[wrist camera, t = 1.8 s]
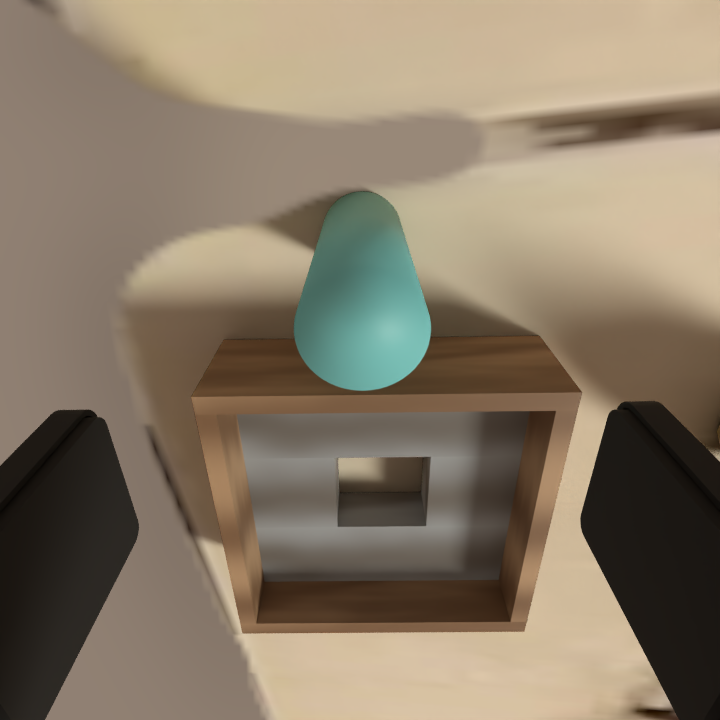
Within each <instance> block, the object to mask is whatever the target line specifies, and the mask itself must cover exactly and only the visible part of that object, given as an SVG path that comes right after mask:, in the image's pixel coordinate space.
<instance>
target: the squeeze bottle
mask: <svg viewBox="0 0 720 720" xmlns="http://www.w3.org/2000/svg"><path fill="white" fill-rule="evenodd" d="M717 434H718V439H719V443H720V425H719V428H718V431H717Z"/></svg>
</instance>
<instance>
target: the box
mask: <svg viewBox="0 0 720 720" xmlns="http://www.w3.org/2000/svg"><path fill="white" fill-rule="evenodd" d="M581 395H582V392H581V390H580V389H579V388H578V386H577V385H576V384H575V382H574V381H573V380H572V378H571V377H570V376H569V374H568V373H567V372H566V370H565V369H564V368H563V366H562V365H561V364H560V362H559V361H558V360H557V358H556V357H555V356H554V354H553V353H552V352H551V350H550V349H549V348H548V346H547V345H546V344H545V342H544V341H543V340H542V338H541V337H540V336H485V337H430V341H429V345H428V348H427V350H426V353H425V355H424V357H423V358H422V360H421V361H420V363H419V364H418V365H417V367H416V368H415V369H414V370H413V371H412V372H411V373H410V374H408V375H407V376H406V377H404V378H403V379H402V380H400V381H398V382H396V383H394V384H392V385H390V386H387V387H384V388H380V389H375V390H367V391H358V390H349V389H344V388H341V387H338V386H335V385H333V384H330V383H328V382H327V381H325V380H323V379H322V378H320V377H319V376H317V375H316V374H315V373H314V372H313V371H312V370H311V369H310V368H309V367H308V366H307V365H306V363H305V362H304V360H303V359H302V357H301V355H300V353H299V351H298V349H297V346H296V342H295V339H253V340H223V342H222V344H221V346H220V347H219V349H218V351H217V353H216V354H215V356H214V358H213V360H212V361H211V363H210V365H209V367H208V368H207V370H206V372H205V373H204V375H203V377H202V379H201V380H200V382H199V384H198V386H197V387H196V389H195V391H194V393H193V394H192V396H191V399H192V404H193V408H194V413H195V418H196V422H197V427H198V431H199V436H200V440H201V445H202V450H203V454H204V459H205V463H206V468H207V473H208V477H209V482H210V486H211V491H212V495H213V500H214V505H215V509H216V514H217V518H218V523H219V528H220V532H221V537H222V541H223V546H224V551H225V555H226V560H227V564H228V569H229V573H230V578H231V583H232V587H233V592H234V596H235V601H236V606H237V610H238V615H239V619H240V624H241V628H242V633H374V632H524V630H525V626H526V622H527V618H528V614H529V610H530V606H531V602H532V597H533V593H534V589H535V585H536V581H537V577H538V573H539V568H540V564H541V560H542V556H543V552H544V548H545V544H546V539H547V535H548V531H549V527H550V523H551V519H552V515H553V510H554V506H555V502H556V498H557V494H558V490H559V486H560V482H561V477H562V473H563V469H564V465H565V461H566V457H567V453H568V448H569V444H570V440H571V436H572V432H573V428H574V424H575V419H576V415H577V411H578V407H579V403H580V399H581ZM367 457H423V467H422V484H421V492H375V493H339V472H338V458H367Z"/></svg>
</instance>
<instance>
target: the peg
mask: <svg viewBox="0 0 720 720" xmlns="http://www.w3.org/2000/svg"><path fill="white" fill-rule="evenodd" d="M430 335H431V321H430V315H429V312H428V309H427V306H426V302H425V299H424V296H423V293H422V290H421V286H420V283H419V280H418V277H417V274H416V270H415V267H414V264H413V261H412V258H411V254H410V251H409V248H408V245H407V242H406V238H405V235H404V232H403V229H402V226H401V222H400V219H399V216H398V214H397V212H396V210H395V209H394V207H393V206H392V205H391V204H390V203H389V202H388V201H387V200H386V199H385V198H383V197H382V196H380V195H378V194H375V193H372V192H365V191H359V192H353V193H350V194H347V195H345V196H343V197H341V198H340V199H338V200H337V201H336V202H335V203H334V204H333V205H332V206H331V208H330V209H329V211H328V212H327V215H326V217H325V220H324V223H323V226H322V230H321V233H320V236H319V239H318V243H317V246H316V249H315V252H314V256H313V259H312V262H311V266H310V269H309V272H308V275H307V279H306V282H305V285H304V288H303V292H302V295H301V298H300V301H299V305H298V308H297V311H296V315H295V320H294V337H295V342H296V346H297V349H298V351H299V353H300V355H301V357H302V359H303V360H304V362H305V363H306V365H307V366H308V367H309V368H310V369H311V370H312V371H313V372H314V373H315V374H316V375H317V376H319V377H320V378H322V379H323V380H325V381H327V382H328V383H330V384H333V385H335V386H338V387H341V388H344V389H349V390H358V391H367V390H375V389H380V388H384V387H387V386H390V385H392V384H394V383H396V382H398V381H400V380H402V379H403V378H404V377H406V376H407V375H408V374H410V373H411V372H412V371H413V370H414V369H415V368H416V367H417V365H418V364H419V363H420V361H421V360H422V358H423V357H424V355H425V353H426V350H427V348H428V345H429V341H430Z"/></svg>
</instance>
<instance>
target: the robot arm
mask: <svg viewBox="0 0 720 720" xmlns="http://www.w3.org/2000/svg"><path fill="white" fill-rule="evenodd" d="M581 529H582V533H583V535H584V537H585V539H586V541H587V543H588V545H589V547H590V549H591V551H592V553H593V555H594V557H595V558H596V560H597V562H598V564H599V566H600V568H601V570H602V572H603V574H604V576H605V578H606V580H607V582H608V584H609V585H610V587H611V589H612V591H613V593H614V595H615V597H616V599H617V601H618V603H619V605H620V607H621V609H622V611H623V612H624V614H625V616H626V618H627V620H628V622H629V624H630V626H631V628H632V630H633V632H634V634H635V636H636V638H637V639H638V641H639V643H640V645H641V647H642V649H643V651H644V653H645V655H646V657H647V659H648V661H649V663H650V665H651V666H652V668H653V670H654V672H655V674H656V676H657V678H658V680H659V682H660V684H661V686H662V688H663V690H664V692H665V693H666V695H667V697H668V699H669V701H670V703H671V705H672V707H673V709H674V711H675V713H676V715H677V717H678V718H679V720H720V462H719V461H718V460H717V459H716V458H715V457H714V456H713V455H712V454H711V453H710V452H709V451H708V450H707V449H706V448H705V447H704V446H703V445H702V444H701V443H700V442H699V441H698V440H697V439H696V438H695V437H694V436H693V435H692V434H691V433H690V432H689V431H688V430H687V429H686V428H685V427H684V426H683V425H682V424H681V423H680V422H679V421H678V420H677V419H676V418H675V417H674V416H673V415H672V414H671V413H670V412H669V411H668V410H667V409H666V408H665V407H664V406H663V405H662V404H660V403H659V402H655V401H640V402H623V403H621V404H620V405H619V406H618V408H617V410H612V411H611V412H610V413H609V415H608V418H607V422H606V425H605V429H604V433H603V436H602V440H601V444H600V447H599V451H598V455H597V458H596V462H595V466H594V469H593V473H592V476H591V480H590V484H589V487H588V491H587V495H586V498H585V502H584V506H583V509H582V513H581ZM138 530H139V524H138V519H137V516H136V513H135V510H134V507H133V504H132V501H131V498H130V495H129V491H128V489H127V485H126V482H125V479H124V476H123V473H122V470H121V467H120V464H119V461H118V457H117V454H116V451H115V448H114V446H113V442H112V439H111V436H110V433H109V430H108V427H107V424H106V422H105V420H104V419H102V418H100V417H97V415H96V414H95V413H94V412H93V411H91V410H58V411H55V412H54V413H53V414H51V415H50V416H49V417H48V418H47V419H46V420H45V421H44V422H43V423H42V424H41V425H40V426H39V427H38V428H37V429H36V430H35V432H33V433H32V434H31V435H30V436H29V437H28V438H27V439H26V440H25V441H24V442H23V443H22V444H21V445H20V446H19V447H18V448H17V450H15V451H14V453H12V455H11V456H10V457H9V458H8V459H7V460H6V461H5V462H4V463H3V464H2V465H1V466H0V720H45V719H46V717H47V714H48V713H49V711H50V709H51V707H52V705H53V703H54V701H55V699H56V697H57V695H58V693H59V691H60V689H61V687H62V685H63V683H64V681H65V679H66V677H67V676H68V674H69V672H70V670H71V668H72V666H73V664H74V662H75V659H76V658H77V656H78V654H79V652H80V650H81V648H82V646H83V644H84V642H85V640H86V638H87V636H88V634H89V632H90V630H91V628H92V626H93V625H94V623H95V621H96V619H97V617H98V615H99V613H100V610H101V609H102V607H103V605H104V603H105V601H106V599H107V597H108V595H109V593H110V591H111V589H112V587H113V585H114V583H115V581H116V579H117V577H118V575H119V574H120V572H121V569H122V567H123V566H124V564H125V562H126V560H127V558H128V556H129V554H130V552H131V550H132V548H133V546H134V544H135V542H136V540H137V536H138Z"/></svg>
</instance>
